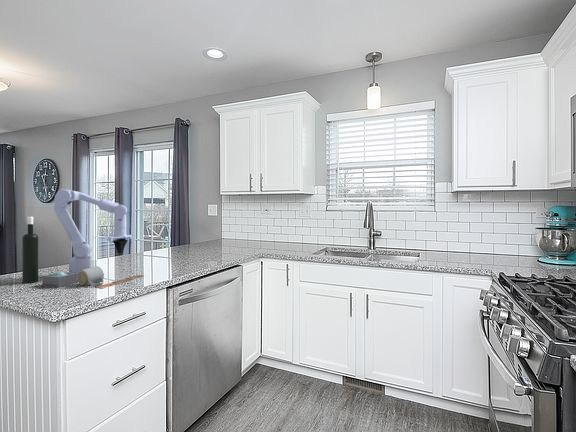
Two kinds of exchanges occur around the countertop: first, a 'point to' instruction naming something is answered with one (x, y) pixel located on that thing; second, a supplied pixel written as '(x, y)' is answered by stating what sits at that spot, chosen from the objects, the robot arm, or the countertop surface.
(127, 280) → the tile track
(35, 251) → the wine bottle
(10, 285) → the countertop surface
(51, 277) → the dome housing
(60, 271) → the dome
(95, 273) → the ceramic mug
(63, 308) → the countertop surface
